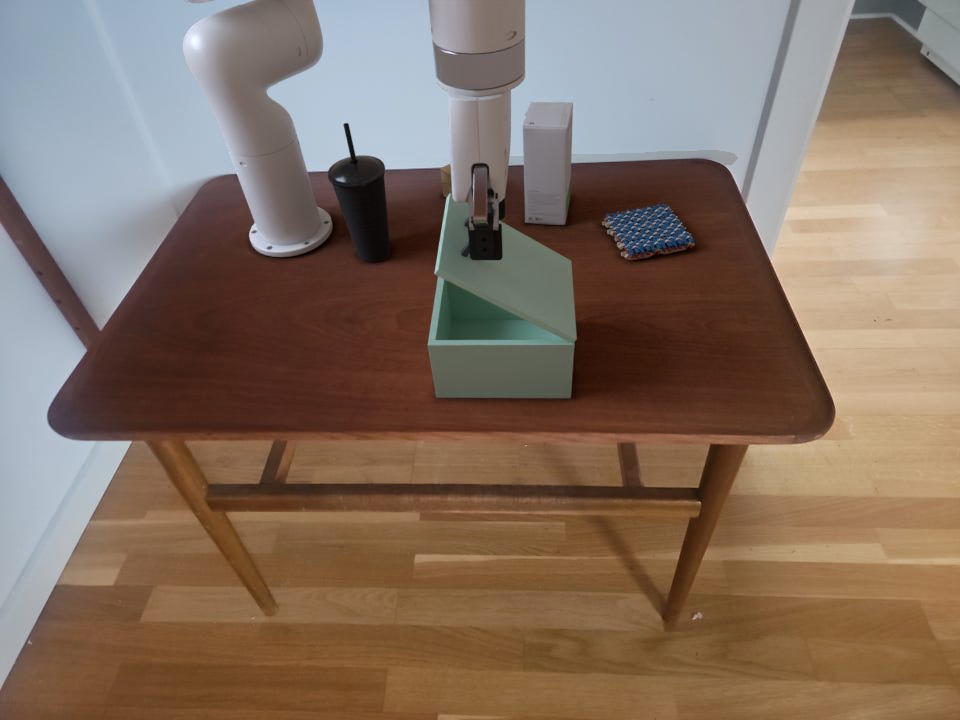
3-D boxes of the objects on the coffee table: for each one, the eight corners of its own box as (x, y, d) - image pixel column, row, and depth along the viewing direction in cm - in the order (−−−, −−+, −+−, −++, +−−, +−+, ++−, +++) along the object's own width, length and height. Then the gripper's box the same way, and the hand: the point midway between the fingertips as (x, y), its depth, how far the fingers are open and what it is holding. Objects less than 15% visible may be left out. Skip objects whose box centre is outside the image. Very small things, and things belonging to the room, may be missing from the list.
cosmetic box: (564, 227, 97) (569, 129, 86) (521, 224, 98) (520, 127, 87) (570, 196, 103) (575, 100, 91) (529, 194, 104) (529, 99, 92)
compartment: (436, 398, 75) (427, 345, 69) (446, 320, 84) (439, 267, 78) (570, 398, 74) (574, 344, 68) (566, 319, 83) (569, 265, 77)
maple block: (443, 195, 105) (440, 167, 101) (467, 184, 107) (465, 156, 103) (461, 208, 102) (458, 180, 98) (486, 196, 104) (484, 168, 100)
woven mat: (665, 211, 98) (667, 199, 97) (696, 251, 91) (698, 239, 90) (599, 222, 97) (600, 211, 96) (626, 265, 90) (627, 253, 89)
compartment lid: (434, 274, 62) (460, 238, 59) (446, 197, 71) (469, 163, 68) (572, 343, 68) (603, 314, 64) (567, 265, 77) (594, 236, 73)
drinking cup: (386, 273, 92) (358, 142, 77) (339, 263, 94) (303, 135, 80) (408, 242, 97) (386, 113, 82) (363, 233, 99) (334, 107, 84)
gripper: (445, 21, 59) (459, 191, 73) (421, 109, 48) (443, 293, 61) (526, 18, 59) (526, 190, 72) (523, 107, 47) (523, 293, 60)
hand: (488, 236), depth 66 cm, fingers closed on compartment lid, 6 cm apart
